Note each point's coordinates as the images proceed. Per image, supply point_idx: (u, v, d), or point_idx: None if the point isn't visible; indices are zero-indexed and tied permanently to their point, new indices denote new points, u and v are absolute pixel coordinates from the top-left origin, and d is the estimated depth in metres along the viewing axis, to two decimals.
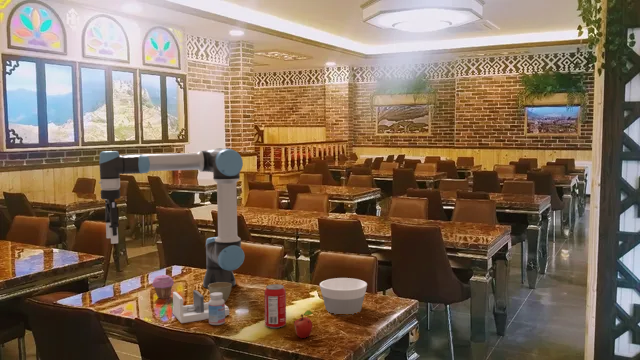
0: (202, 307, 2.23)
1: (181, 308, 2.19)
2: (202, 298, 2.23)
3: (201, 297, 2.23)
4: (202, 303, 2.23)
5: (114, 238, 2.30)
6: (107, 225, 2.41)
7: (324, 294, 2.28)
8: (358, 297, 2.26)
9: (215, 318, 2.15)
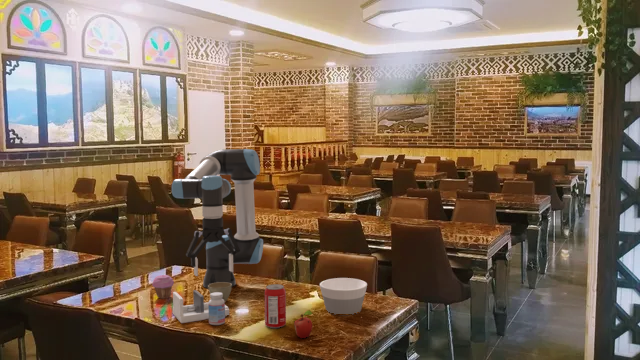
0: (202, 307, 2.23)
1: (181, 308, 2.19)
2: (202, 298, 2.23)
3: (201, 297, 2.23)
4: (202, 303, 2.23)
5: (194, 269, 2.13)
6: (229, 256, 2.20)
7: (324, 294, 2.28)
8: (358, 297, 2.26)
9: (215, 318, 2.15)
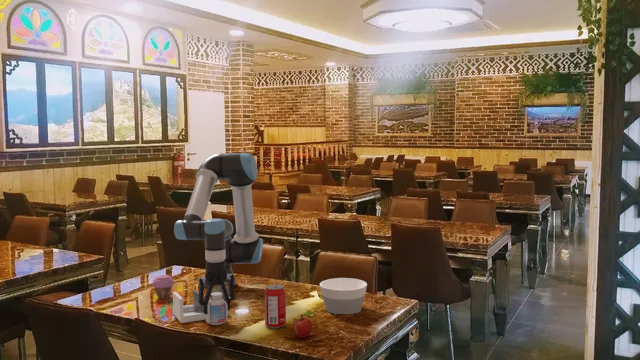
0: (202, 307, 2.23)
1: (181, 308, 2.19)
2: None
3: None
4: None
5: (207, 316, 2.16)
6: None
7: (324, 294, 2.28)
8: (358, 297, 2.26)
9: (215, 318, 2.15)
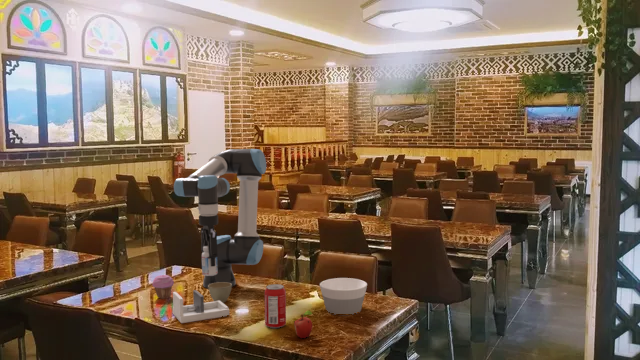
0: (202, 307, 2.23)
1: (181, 308, 2.19)
2: (202, 298, 2.23)
3: (201, 297, 2.23)
4: (202, 303, 2.23)
5: (212, 268, 2.25)
6: None
7: (324, 294, 2.28)
8: (358, 297, 2.26)
9: None
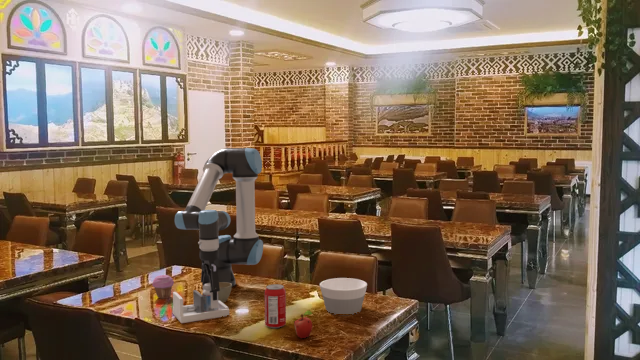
0: (202, 307, 2.23)
1: (181, 308, 2.19)
2: (202, 298, 2.23)
3: (201, 297, 2.23)
4: (202, 303, 2.23)
5: (214, 302, 2.25)
6: (204, 288, 2.33)
7: (324, 294, 2.28)
8: (358, 297, 2.26)
9: None
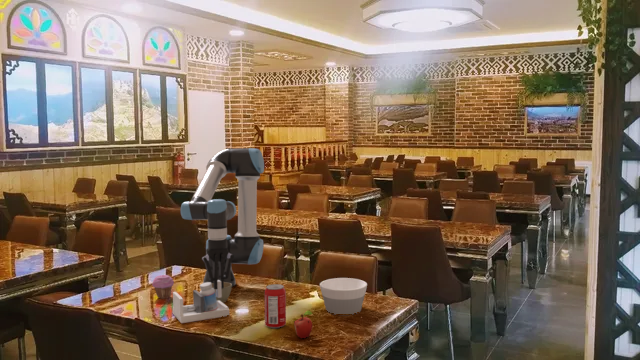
0: (202, 307, 2.23)
1: (181, 308, 2.19)
2: (202, 298, 2.23)
3: (201, 297, 2.23)
4: (202, 303, 2.23)
5: (216, 291, 2.31)
6: None
7: (324, 294, 2.28)
8: (358, 297, 2.26)
9: (216, 303, 2.30)
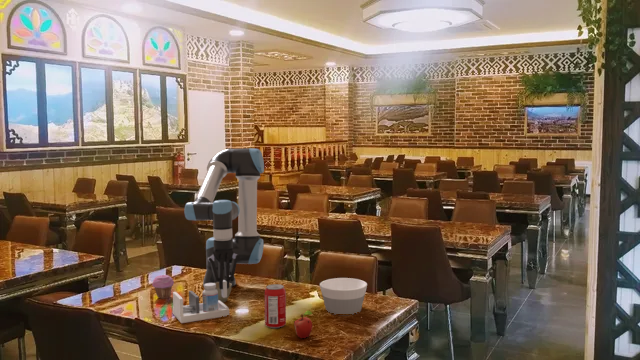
0: (197, 308, 2.22)
1: (181, 308, 2.19)
2: (197, 299, 2.22)
3: (196, 298, 2.22)
4: (197, 304, 2.22)
5: (222, 291, 2.32)
6: None
7: (324, 294, 2.28)
8: (358, 297, 2.26)
9: None
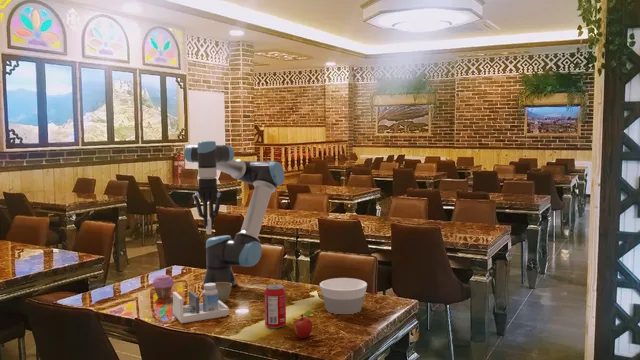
0: (197, 308, 2.22)
1: (181, 308, 2.19)
2: (197, 299, 2.22)
3: (196, 298, 2.22)
4: (197, 304, 2.22)
5: (207, 228, 2.43)
6: None
7: (324, 294, 2.28)
8: (358, 297, 2.26)
9: None
